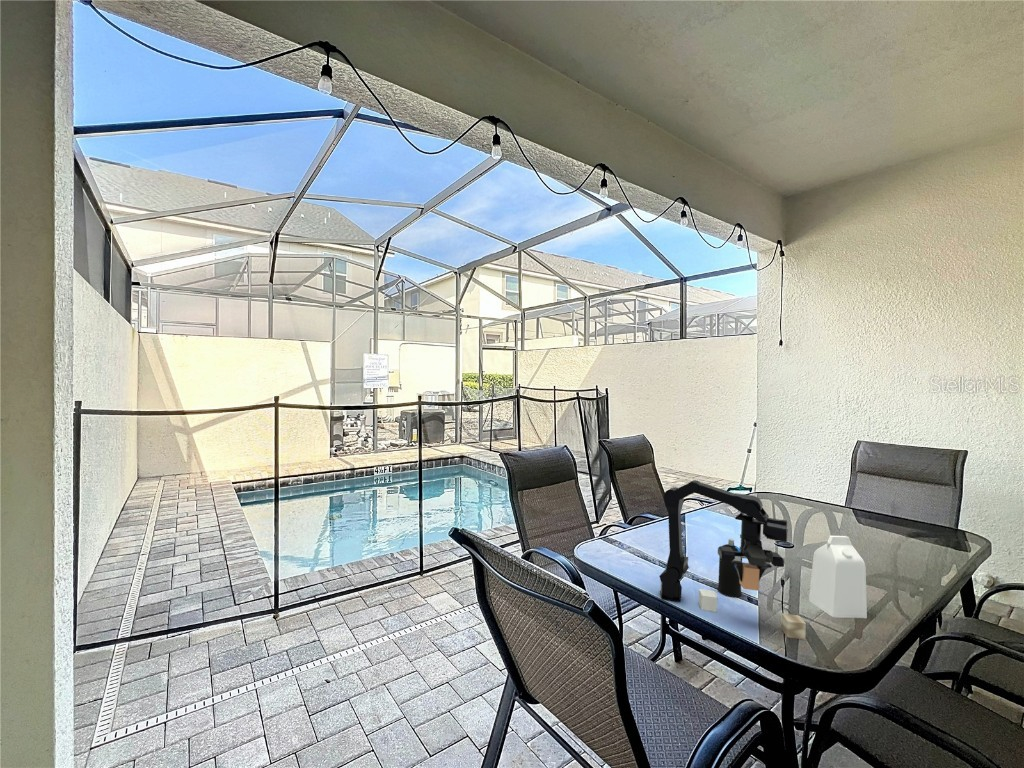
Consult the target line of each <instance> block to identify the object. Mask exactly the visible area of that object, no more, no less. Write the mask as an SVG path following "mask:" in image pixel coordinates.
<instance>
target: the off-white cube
mask: <svg viewBox="0 0 1024 768" xmlns="http://www.w3.org/2000/svg"><path fill="white" fill-rule="evenodd" d="M698 605H699V606H700V607H699V608H700V610H701V611H707V612H714V613H717V612H718V595H717V593H716V592H715V591H714V590H708V589H701V588H699V589H698Z"/></svg>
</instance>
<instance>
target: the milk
mask: <svg viewBox="0 0 1024 768" xmlns="http://www.w3.org/2000/svg"><path fill="white" fill-rule="evenodd" d="M866 572H867V571H866V562H865V561H864V559H863V558H862V556H861V555H860V554H859V552H858V551H857V550H856V548H855V547H854V546H853V543H852V542H851V539H850V537H849V536H847V535H829V537H828V539H827V542H826V543H825V544H823V545H822V546H820V547H818V548H817V549H815V550H814V552H813V559H812V567H811V575H810V584H809V585H810V587H809V593H808V594H809V596H808V602H810V603H812V604H813V605H814V606H816V607H817V608H818V609H820V610H822V611H823V612H825V613H826V614H827V615H829V616H830V617H832V618H840V619H841V618H842V619H843V618H844V619H846V618H848V619H850V618H851V619H867V618H868V616H867V614H868V610H867V609H868V608H867V578H866V577H867V573H866Z"/></svg>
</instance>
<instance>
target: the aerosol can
mask: <svg viewBox="0 0 1024 768" xmlns="http://www.w3.org/2000/svg"><path fill="white" fill-rule="evenodd" d="M722 546H724V547H731V549H732V550H733V551H738V552H740V547H738V546H736V545H735V539H733V538H728V543H727V544H723V545H722ZM718 556H719V555H718ZM718 561H719V562H718V586H717V592H718V593H720V594H722V595H723V596H726V597H730V598H740V597H742V586H741V584H740V583H739V576H738V573H737V570H736V567H735V564H734V563H732V561H728V560H723V559H721V558H720V556H719V558H718ZM741 562H743V558H741Z"/></svg>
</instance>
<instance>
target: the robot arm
mask: <svg viewBox="0 0 1024 768" xmlns="http://www.w3.org/2000/svg"><path fill="white" fill-rule="evenodd" d="M693 494H697V495H700V496H703V497H706V498H709V499H712V500H714V501H717V502H720V503H723V504H727V505H728V506H731V507H732V508H734V509H735V510H737V511H738V512H740V513H738V514H737V515H736V516H735V517H734V519H735V520H737V521H741V526H740V529H741V530H740V534H739V537H740V546H739V549H740V552H738V551H733V550H732V549H731V547H724V546H723V545H720V546H718V547H717V555H718V556H720V558H721V559H723V560H728V561H732V563H734V564H735V567H736V570H737V573H738V576H739V579H740V581H742V578H743V576H742V565H743V563H744V562H743V561H742V562H743V563H742V562H741V558H742V559H746V560H747V563H749V564H750V565H756V566H757V567H758V568H759V582H760V581H761V578H762V576H763V574H764V573H765V571H767V569H771V568H772V567H773V566H774V567H780V568H784V567H785V559H784V557H782V556H781V555H780V554H779V553H778V552H775V551H772V550H769V549H763V544H762V539H761V537H762V536H763V535H764V537H766V539H769V540H772V541H776V542H777V541H778V542H782V543H786V544H787V543H788V536H789V529H788V521H787V519H786V520H785V519H778V518H772V517H769V514H768V513H767V512H766V510H765V508H764V507H763V502H762V500H761V499H760V498H759V497H757V496H755V495H751V494H750V495H749V494H744V493H742V494H741V493H734V492H731V491H727V490H725V489H722V488H718V487H715V486H712V485H710V484H707V483H704V482H701V481H699V480H697V479H693V480H691V481H690V482H688V483H686V484H684V485H681V486H680V487H678V486H673V487H670V488H669V489H667V490H666V491H665V492H664V493H663V503H664V508H665V509H666V511H667V514H668V520H667V521H668V540H669V541H668V543H669V555H668V558H667V561H666V567H665V569H664V570H663V572H661V573H660V575H659V579H660V589H659V593H660V598H661V597H662V598H661V599H662V600H664V599H666V601H673V602H679V603H680V602H681V598H682V589H683V587H682V583H681V581H680V580H681V579H682V578H683V577H684V576H685V574H686V573H687V571H688V570H689V569H690V566H689V556H685V555H684V552H683V542H682V541H683V536H682V515H681V514H682V509H683V506H684V500H685V498H686V497H688V496H690V495H693ZM772 565H773V566H772Z"/></svg>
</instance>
